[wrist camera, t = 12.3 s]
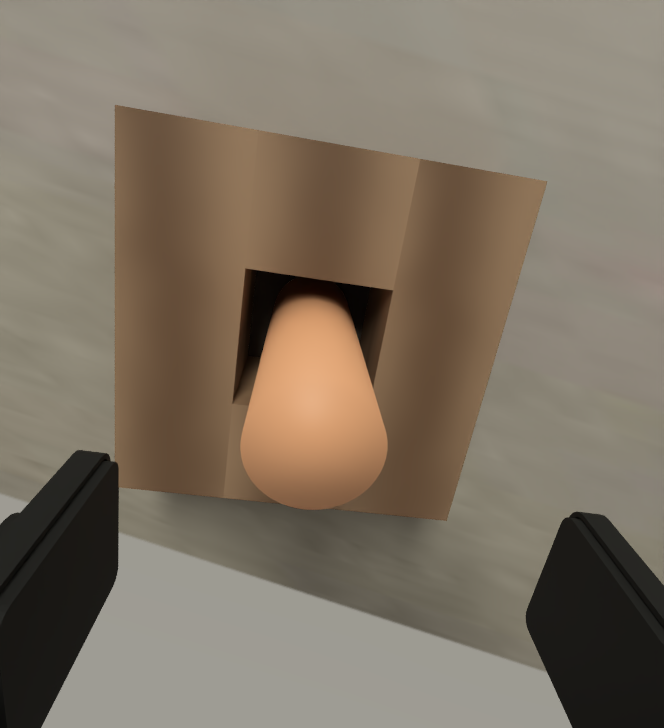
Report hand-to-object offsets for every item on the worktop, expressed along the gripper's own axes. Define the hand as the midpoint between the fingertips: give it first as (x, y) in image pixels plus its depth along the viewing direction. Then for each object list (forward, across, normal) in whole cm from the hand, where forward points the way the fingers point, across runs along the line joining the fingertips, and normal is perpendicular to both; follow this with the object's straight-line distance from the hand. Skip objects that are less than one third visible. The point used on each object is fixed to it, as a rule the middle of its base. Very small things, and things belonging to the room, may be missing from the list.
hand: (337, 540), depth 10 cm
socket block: (+17, +1, 0) cm, 17 cm away
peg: (+17, +1, 0) cm, 17 cm away
